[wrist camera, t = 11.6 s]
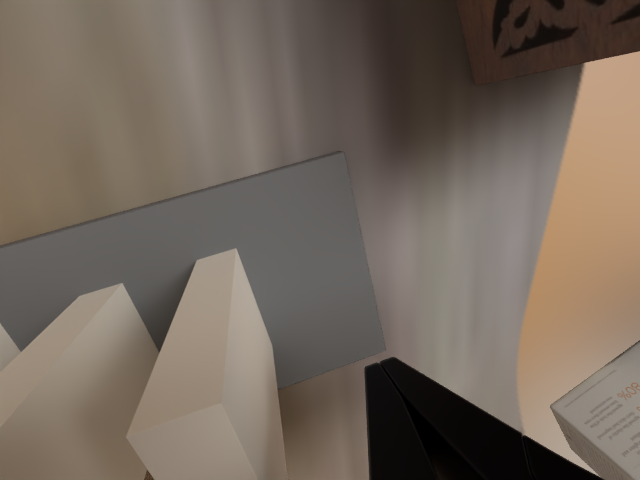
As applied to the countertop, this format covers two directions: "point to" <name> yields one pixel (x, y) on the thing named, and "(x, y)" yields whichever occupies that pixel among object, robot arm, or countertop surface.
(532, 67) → the tissue box cover
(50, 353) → the domino
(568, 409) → the small box
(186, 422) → the white angular block
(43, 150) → the countertop surface
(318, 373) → the rubber mat
